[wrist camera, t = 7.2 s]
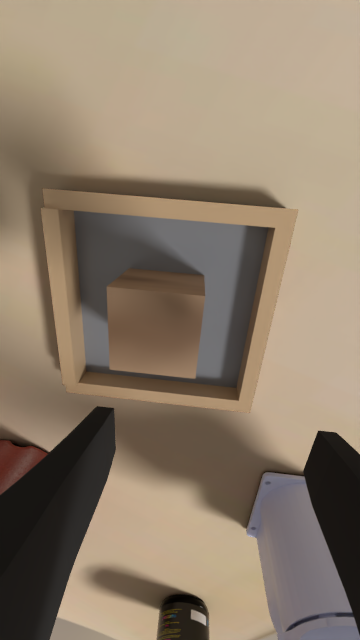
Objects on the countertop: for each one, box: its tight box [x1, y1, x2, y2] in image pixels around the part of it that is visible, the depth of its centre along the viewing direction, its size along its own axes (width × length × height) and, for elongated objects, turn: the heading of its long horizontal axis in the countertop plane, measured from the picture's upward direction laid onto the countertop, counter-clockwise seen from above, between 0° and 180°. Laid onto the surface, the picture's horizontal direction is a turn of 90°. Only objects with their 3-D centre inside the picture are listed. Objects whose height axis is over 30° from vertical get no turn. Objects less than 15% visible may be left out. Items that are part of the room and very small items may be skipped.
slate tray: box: [41, 188, 298, 413], centre depth 17 cm, size 14×14×2 cm
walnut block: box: [107, 268, 205, 379], centre depth 16 cm, size 5×5×4 cm
